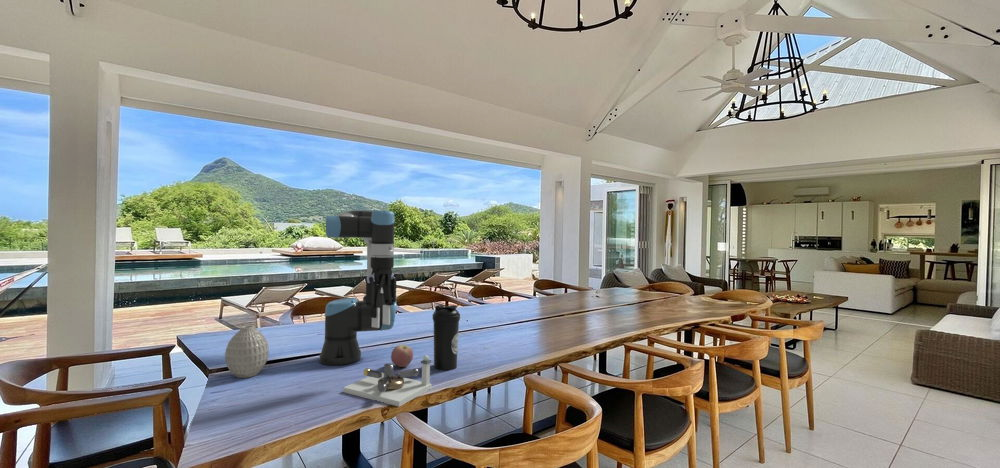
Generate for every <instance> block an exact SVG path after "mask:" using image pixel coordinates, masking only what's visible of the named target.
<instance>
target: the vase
mask: <svg viewBox="0 0 1000 468" xmlns="http://www.w3.org/2000/svg"><path fill="white" fill-rule="evenodd" d="M269 351H270V349H269V343H268V340H267V338H266V337H265V335H264V334H263V333H262V332H261V331H259V330H258V329H257V328H256V327H255V326H254V325H243V326H241V327H240V329H239V330H238V331H237V332H236V333H234V335H233V336H232V337H231V338H230V340H229V341H228V343H227V345H226V348H225V354H224V359H225V360H224V361H225V364H226V367H227V369H228V370H229V372H230V373H231V374H232V375H233V376H235V377H236V378H238V379H247V378H251V377H255V376H257V375H258V374H260V372H261V371H262V370H263V369H264V367H265V365H266V363H267V362H268V358H269V353H270V352H269Z"/></svg>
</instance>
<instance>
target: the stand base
mask: <svg viewBox="0 0 1000 468" xmlns="http://www.w3.org/2000/svg"><path fill="white" fill-rule="evenodd" d="M422 358H423V360H421V361H420V364H421V380H416V379H413V378H412V379H411V378H409V377H405V378H403V379H404V386H403V387H402V388H399V389H396V390H386V391H384V392H380V391H379V389H378V380H379V379H381V378H383V377H384V372H382V377H380V378H374V377H370V376H366V377H365V378H363V379H360V380H358V381H356V382H355V381H354V382H353V383H351V384H348V385H346V386H344V387H343V393H346V394H349V395H353V396H357V397H360V398H366V399H368V400H372V401H375V400H377V401H376V402H379V401H380V403H383V402H384V403H383V404H388V405H390V406H396V407H398V408H399V407H401V406H403V405H404V404H407V403H408V402H410V401H412V400H414V399H415V398H418V397H420V396H421V395H422V393H423V394H424V393H426V392H428V391H429V389H430V390H432V387H433V386H432V385H433V384H432V383H431V381H430V380H431V379H430V378H431V377H430V375H431V363H432V360H430V357H429V355H423V357H422ZM393 376H395V375H394V374H393Z"/></svg>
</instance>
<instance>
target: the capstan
mask: <svg viewBox="0 0 1000 468" xmlns="http://www.w3.org/2000/svg"><path fill="white" fill-rule="evenodd" d="M362 373H363V376H365V377H369V376H370V377H374V378H380V377H382V373H384V377H383V378H381V379H379V380H378V389H379V391H380V392H384V391H386V390H396V389H399V388H402V387H403V386H404V379H403V378H409V377H417V376H418V375H419V373H420V371H419V369H418V368H413V369H408V370H403V371H398V372H397V373H398V374H397V375H394V363H390V362H389V363H385V364H384V365H383V372H382V371H379V370H374V369H370V368H365V369H364V370H363V372H362ZM393 375H394V376H393Z"/></svg>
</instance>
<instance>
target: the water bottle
mask: <svg viewBox="0 0 1000 468" xmlns="http://www.w3.org/2000/svg"><path fill="white" fill-rule="evenodd" d="M457 308H458V305H457V304H456V305H455V304H452V305H445V306H444V305H443V304H438V305H436V306H435V307H434V312H433V313H432V321H433V368H434V369H435V370H438V371H442V372H443V371H445V372H446V371H452V370H455V369H457V368H458V351H459V350H458V349H459V347H458V346H459V331H460V329H459V327H460V320H461V314H460V312H459V310H457Z"/></svg>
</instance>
